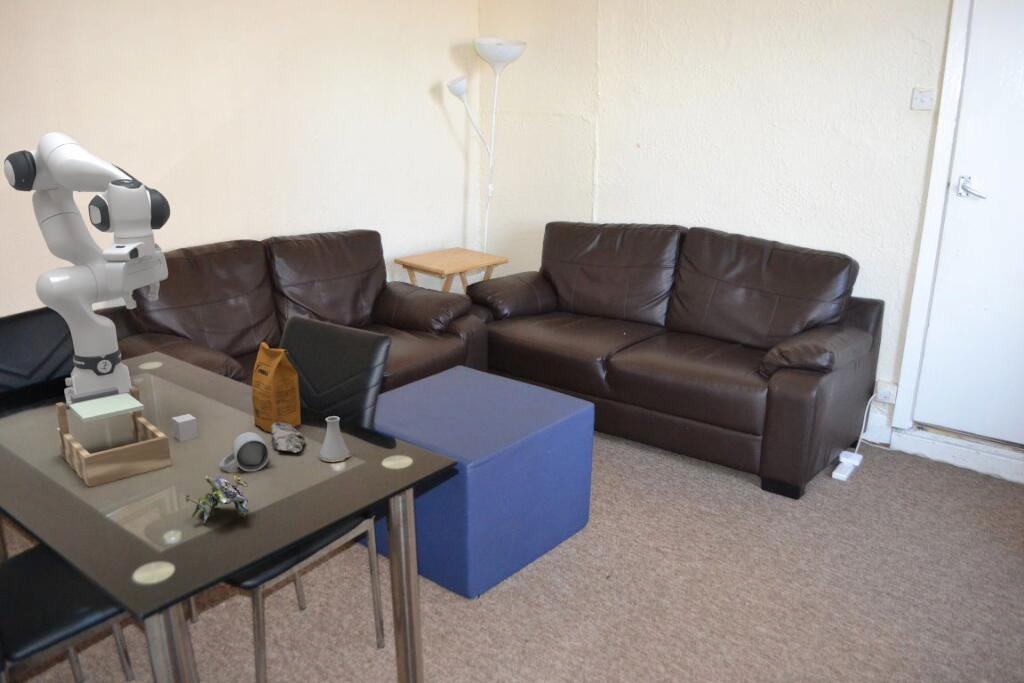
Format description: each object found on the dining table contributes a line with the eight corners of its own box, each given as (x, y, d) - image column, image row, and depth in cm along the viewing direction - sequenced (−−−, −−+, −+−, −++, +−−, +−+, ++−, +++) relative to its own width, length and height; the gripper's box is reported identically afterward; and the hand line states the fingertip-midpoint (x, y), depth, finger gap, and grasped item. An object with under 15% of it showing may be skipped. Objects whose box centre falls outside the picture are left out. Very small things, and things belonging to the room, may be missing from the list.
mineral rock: (305, 455, 197) (304, 438, 196) (271, 459, 195) (270, 441, 194) (304, 433, 211) (303, 417, 210) (272, 436, 209) (271, 420, 208)
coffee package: (282, 415, 223) (276, 337, 217) (306, 427, 215) (301, 346, 209) (248, 424, 216) (241, 344, 210) (272, 437, 208) (265, 354, 202)
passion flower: (243, 538, 170) (263, 504, 163) (191, 547, 162) (210, 512, 156) (226, 493, 175) (245, 459, 169) (175, 500, 168) (193, 464, 161)
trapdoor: (62, 407, 194) (61, 397, 194) (124, 395, 203) (123, 385, 203) (82, 426, 183) (80, 415, 182) (146, 412, 192) (145, 401, 191)
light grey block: (174, 436, 208) (171, 417, 207) (191, 432, 211) (189, 413, 209) (180, 442, 205) (178, 422, 203) (198, 437, 208) (195, 418, 206)
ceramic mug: (264, 455, 197) (261, 425, 195) (271, 468, 190) (268, 437, 188) (218, 464, 192) (214, 434, 190) (223, 477, 185) (219, 446, 183)
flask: (313, 457, 196) (310, 418, 193) (338, 449, 201) (336, 410, 198) (331, 466, 191) (328, 426, 188) (356, 457, 196) (354, 418, 194)
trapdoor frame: (61, 455, 196) (52, 400, 192) (138, 436, 208) (131, 384, 204) (89, 487, 180) (80, 427, 176) (171, 465, 191) (164, 408, 187)
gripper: (147, 242, 208) (154, 295, 211) (97, 254, 188) (105, 313, 192) (170, 242, 207) (177, 295, 210) (122, 254, 187) (130, 313, 191)
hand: (142, 304), depth 201 cm, fingers open, 8 cm apart
